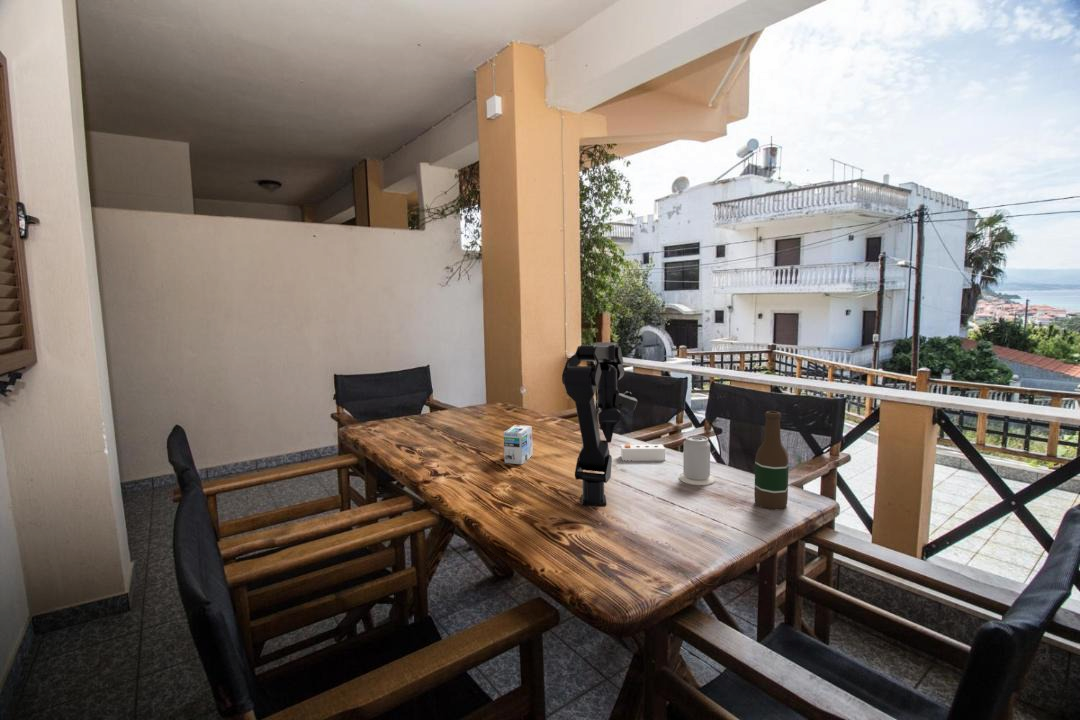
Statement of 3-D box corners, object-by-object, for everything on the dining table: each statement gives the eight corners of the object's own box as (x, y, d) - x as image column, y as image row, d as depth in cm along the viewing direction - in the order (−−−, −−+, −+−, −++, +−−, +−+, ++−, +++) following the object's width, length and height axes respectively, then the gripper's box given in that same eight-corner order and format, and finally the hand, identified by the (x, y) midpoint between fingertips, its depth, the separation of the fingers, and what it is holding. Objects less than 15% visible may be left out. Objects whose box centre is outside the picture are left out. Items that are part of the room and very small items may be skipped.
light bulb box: (522, 465, 160) (521, 433, 159) (503, 463, 163) (502, 432, 161) (533, 455, 171) (532, 425, 169) (515, 454, 173) (514, 424, 172)
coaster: (719, 485, 138) (719, 483, 138) (683, 485, 138) (683, 483, 138) (709, 473, 148) (709, 471, 147) (676, 473, 148) (676, 471, 148)
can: (711, 474, 144) (711, 435, 143) (708, 483, 138) (708, 442, 136) (685, 471, 148) (685, 433, 146) (681, 480, 141) (681, 439, 140)
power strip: (665, 460, 161) (665, 446, 160) (622, 460, 162) (622, 447, 161) (662, 455, 166) (662, 442, 165) (621, 456, 167) (620, 443, 166)
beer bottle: (784, 499, 127) (786, 409, 124) (790, 511, 119) (793, 415, 117) (752, 497, 129) (753, 408, 126) (756, 509, 121) (758, 414, 119)
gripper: (639, 390, 131) (639, 447, 133) (631, 380, 149) (631, 429, 151) (598, 391, 132) (598, 447, 133) (594, 380, 150) (595, 429, 152)
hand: (607, 437), depth 142 cm, fingers open, 9 cm apart
